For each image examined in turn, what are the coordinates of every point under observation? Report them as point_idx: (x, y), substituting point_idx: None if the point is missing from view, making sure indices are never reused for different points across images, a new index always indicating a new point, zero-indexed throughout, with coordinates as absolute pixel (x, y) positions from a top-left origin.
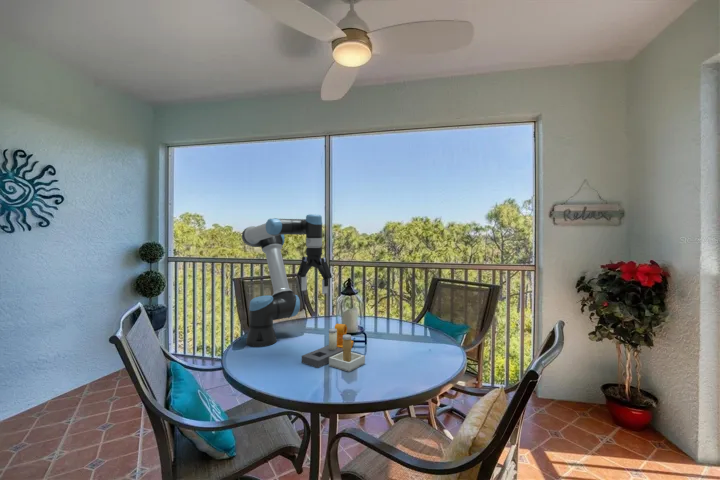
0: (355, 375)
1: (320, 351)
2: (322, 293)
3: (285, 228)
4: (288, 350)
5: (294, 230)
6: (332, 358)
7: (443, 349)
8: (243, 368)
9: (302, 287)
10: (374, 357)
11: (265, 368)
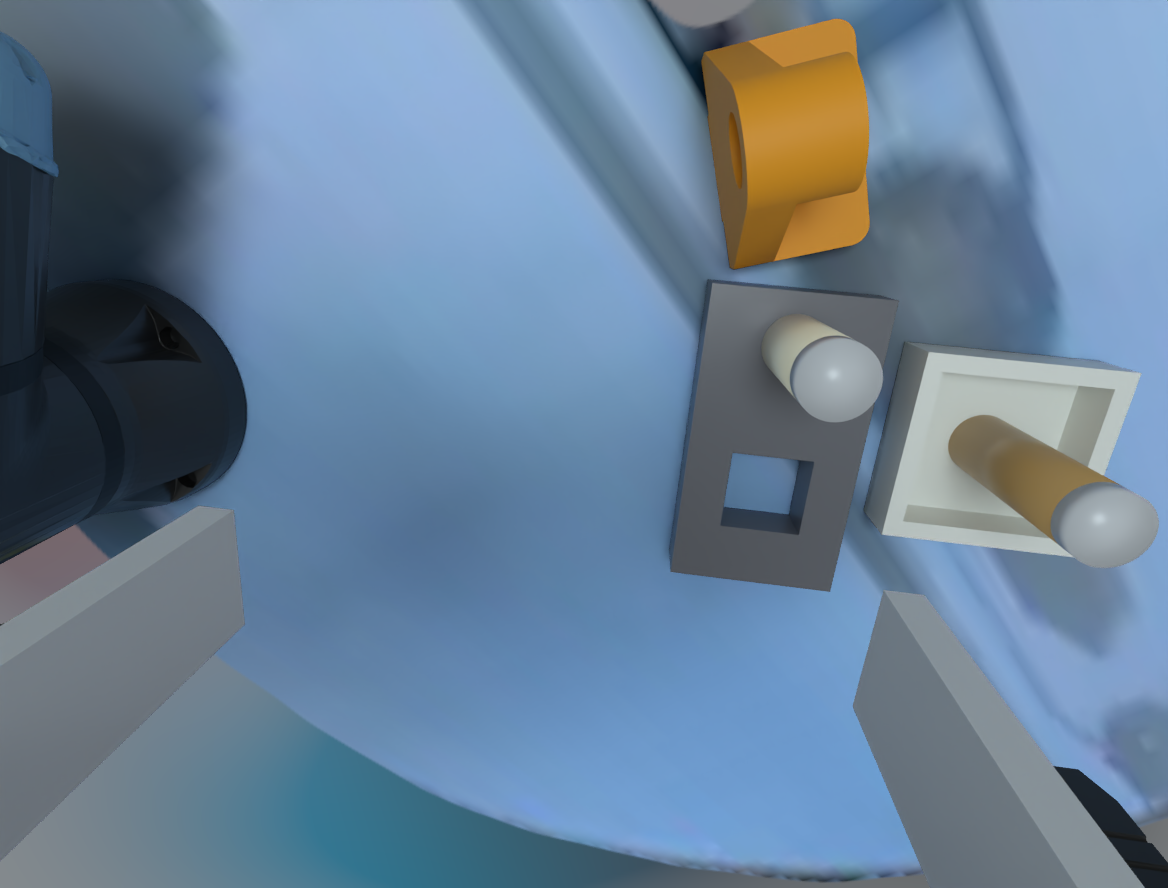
0: None
1: (739, 446)
2: (865, 712)
3: None
4: (435, 424)
5: None
6: (915, 537)
7: None
8: (452, 742)
9: (193, 672)
10: (1134, 199)
11: (549, 698)
